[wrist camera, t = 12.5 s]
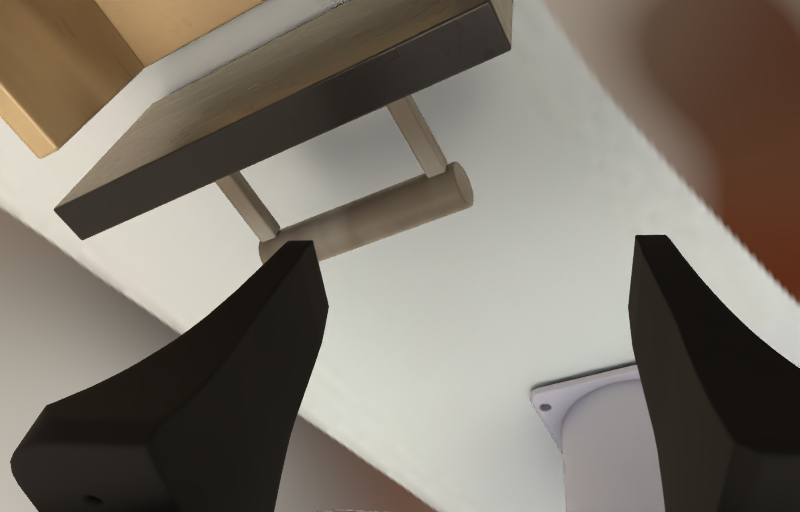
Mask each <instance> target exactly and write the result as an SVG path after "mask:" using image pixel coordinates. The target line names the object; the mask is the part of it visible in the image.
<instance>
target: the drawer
mask: <svg viewBox="0 0 800 512" xmlns="http://www.w3.org/2000/svg"><path fill="white" fill-rule="evenodd" d="M264 1H266V0H0V116H1V118H2V119H3V120H4V121H5V122H6V123H7V124H8V125H9V126H10V127H11V129H12V130H13V131H14V132H15V133H16V134H17V135H18V136H19V137H20V139H21V140H22V141H23V142H24V143H25V144H26V145H27V146H28V147H29V148H30V150H31V151H32V152H33V153H34V154H35V155H36V156H37V157H38V158H39V159H41V158H44V157H46V156H48V155H50V154H52V153H53V152H55V151H57V150H59V149H60V148H61V147H62V146H63V145H64V144H65V143H66V142H67V141H68V140H69V139H70V138H71V137H73V136H74V135H75V134H76V133H77V132H78V131H79V130H80V129H81V128H82V127H83V126H84V125H85V124H86V123H87V122H88V121H89V120H90V119H92V118H93V117H94V116H95V115H96V114H97V113H98V112H99V111H100V110H101V109H102V108H103V107H104V106H105V105H106V104H107V103H108V102H109V101H111V100H112V99H113V98H114V97H115V96H116V95H117V94H118V93H119V92H120V91H121V90H122V89H123V88H124V87H125V86H126V85H127V84H128V83H129V82H131V81H132V80H133V79H134V78H135V77H136V76H137V75H138V74H139V73H140V72H141V71H142V70H143V69H144V68H146V67H147V66H149V65H151V64H153V63H155V62H156V61H158V60H160V59H162V58H164V57H165V56H167V55H169V54H171V53H173V52H174V51H176V50H178V49H180V48H182V47H183V46H185V45H187V44H189V43H191V42H192V41H194V40H196V39H198V38H200V37H201V36H203V35H205V34H207V33H209V32H210V31H212V30H214V29H216V28H218V27H219V26H221V25H223V24H225V23H227V22H228V21H230V20H232V19H234V18H236V17H237V16H239V15H241V14H243V13H245V12H246V11H248V10H250V9H252V8H254V7H255V6H257V5H259V4H261V3H263V2H264ZM512 8H513V0H350V1H348V2H346V3H344V4H342V5H340V6H338V7H336V8H334V9H332V10H330V11H329V12H327V13H325V14H323V15H321V16H319V17H317V18H315V19H313V20H311V21H309V22H308V23H306V24H304V25H302V26H300V27H298V28H296V29H294V30H292V31H290V32H289V33H287V34H285V35H283V36H281V37H279V38H277V39H275V40H273V41H271V42H269V43H268V44H266V45H264V46H262V47H260V48H258V49H256V50H254V51H252V52H250V53H248V54H247V55H245V56H243V57H241V58H239V59H237V60H235V61H233V62H231V63H229V64H228V65H226V66H224V67H222V68H220V69H218V70H216V71H214V72H212V73H210V74H208V75H207V76H205V77H203V78H201V79H199V80H197V81H195V82H193V83H191V84H189V85H187V86H186V87H184V88H182V89H180V90H178V91H176V92H174V93H172V94H170V95H168V96H166V97H165V98H163V99H161V100H159V101H157V102H155V103H153V104H152V105H151V106H150V107H149V108H148V109H147V110H146V111H145V112H144V113H143V114H142V116H141V117H140V118H139V119H138V120H137V121H136V122H135V123H134V124H133V125H132V126H131V127H130V128H129V129H128V130H127V132H126V133H125V134H124V135H123V136H122V137H121V138H120V139H119V140H118V141H117V142H116V143H115V144H114V145H113V146H112V148H111V149H110V150H109V151H108V152H107V153H106V154H105V155H104V156H103V157H102V158H101V159H100V160H99V161H98V162H97V163H96V165H95V166H94V167H93V168H92V169H91V170H90V171H89V172H88V173H87V174H86V175H85V176H84V177H83V178H82V179H81V181H80V182H79V183H78V184H77V185H76V186H75V187H74V188H73V189H72V190H71V191H70V192H69V193H68V194H67V195H66V196H65V198H64V199H63V200H62V201H61V202H60V203H59V204H58V205H57V206H56V207H55V208H54V211H55V212H56V214H57V215H58V216H59V217H60V218H61V219H62V220H63V221H64V222H65V223H66V224H67V225H68V226H69V227H70V228H71V230H72V231H73V232H74V233H75V234H76V235H77V236H78V237H79V238H80V239H81V240H84V239H87V238H89V237H91V236H93V235H96V234H98V233H100V232H102V231H105V230H107V229H109V228H112V227H114V226H116V225H118V224H121V223H123V222H125V221H127V220H130V219H132V218H134V217H136V216H139V215H141V214H143V213H145V212H148V211H150V210H152V209H154V208H157V207H159V206H161V205H163V204H166V203H168V202H170V201H172V200H175V199H177V198H179V197H181V196H184V195H186V194H188V193H190V192H193V191H195V190H197V189H199V188H202V187H204V186H206V185H208V184H211V183H213V182H216V183H217V185H218V186H219V187H220V189H221V190H222V191H223V193H224V194H225V195H226V197H227V198H228V199H229V200H230V202H231V203H232V204H233V206H234V207H235V208H236V210H237V211H238V212H239V213H240V215H241V216H242V217H243V219H244V220H245V221H246V223H247V224H248V225H249V227H250V228H251V229H252V230H253V232H254V233H255V234H256V236H257V237H258V238H259V240H260V242H259V255H260V258H261V261H262V263H263V264H264V263H265V262H266V261H267V260H268V259H269V258H270V257H271V256H272V255H273V254H274V253H275V252H277V251H278V250H279V249H280V248H281V247H282V246H283V245H284V244H285V243H286V242H287V241H292V240H313V242H314V247H315V251H316V255H317V259H318V262H319V261H322V260H325V259H327V258H330V257H333V256H336V255H339V254H341V253H344V252H347V251H350V250H353V249H355V248H358V247H361V246H364V245H366V244H369V243H372V242H375V241H378V240H380V239H383V238H386V237H389V236H392V235H394V234H397V233H400V232H403V231H405V230H408V229H411V228H414V227H417V226H419V225H422V224H425V223H428V222H431V221H433V220H436V219H439V218H442V217H444V216H447V215H450V214H453V213H456V212H458V211H461V210H464V209H467V208H470V207H471V206H472V205H473V201H474V200H473V191H472V187H471V184H470V181H469V179H468V176H467V174H466V172H465V171H464V169H463V167H462V166H461V165H460V164H459V163H458V162H452V163H450V164H447V160H446V158H445V156H444V154H443V153H442V151H441V149H440V147H439V145H438V144H437V142H436V140H435V138H434V136H433V134H432V133H431V131H430V129H429V127H428V125H427V123H426V122H425V120H424V118H423V116H422V114H421V112H420V111H419V109H418V107H417V105H416V103H415V102H414V100H413V98H412V96H411V94H413V93H415V92H418V91H420V90H422V89H424V88H427V87H429V86H431V85H433V84H436V83H438V82H440V81H442V80H445V79H447V78H449V77H451V76H454V75H456V74H458V73H460V72H463V71H465V70H467V69H470V68H472V67H474V66H476V65H479V64H481V63H483V62H485V61H488V60H490V59H492V58H494V57H497V56H499V55H501V54H503V53H506V52H508V51H510V50H511V38H512ZM384 106H387V107H388V109H389V111H390V113H391V114H392V116H393V118H394V120H395V121H396V123H397V125H398V127H399V128H400V130H401V132H402V134H403V135H404V137H405V139H406V141H407V142H408V144H409V146H410V148H411V149H412V151H413V153H414V155H415V156H416V158H417V160H418V162H419V163H420V165H421V167H422V169H423V170H424V172H425V173H424V174H422V175H419V176H416V177H414V178H411V179H409V180H406V181H404V182H401V183H399V184H396V185H393V186H391V187H388V188H386V189H383V190H381V191H378V192H375V193H373V194H370V195H368V196H365V197H363V198H360V199H358V200H355V201H352V202H350V203H347V204H345V205H342V206H340V207H337V208H335V209H332V210H329V211H327V212H324V213H322V214H319V215H317V216H314V217H311V218H309V219H306V220H304V221H301V222H299V223H296V224H294V225H291V226H288V227H286V228H283V229H281V230H280V226H279V224H278V223H277V222H276V220H275V219H274V218H273V216H272V215H271V213H270V212H269V211H268V209H267V208H266V207H265V205H264V204H263V203H262V201H261V200H260V199H259V197H258V196H257V194H256V193H255V192H254V190H253V189H252V188H251V186H250V185H249V184H248V182H247V181H246V180H245V178H244V177H243V176H242V174H241V173H240V170H242V169H244V168H247V167H249V166H251V165H253V164H256V163H258V162H260V161H262V160H265V159H267V158H269V157H271V156H274V155H276V154H278V153H280V152H283V151H285V150H287V149H289V148H292V147H294V146H296V145H298V144H301V143H303V142H305V141H307V140H310V139H312V138H314V137H316V136H319V135H321V134H323V133H325V132H328V131H330V130H332V129H334V128H337V127H339V126H341V125H343V124H346V123H348V122H350V121H352V120H355V119H357V118H359V117H361V116H364V115H366V114H368V113H370V112H373V111H375V110H377V109H379V108H382V107H384Z"/></svg>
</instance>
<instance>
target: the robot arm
mask: <svg viewBox="0 0 800 512" xmlns="http://www.w3.org/2000/svg"><path fill="white" fill-rule="evenodd" d="M328 308H329V305H328V301H327V296H326V292H325V288H324V284H323V280H322V276H321V271H320V267H319V263H318V259H317V255H316V251H315V247H314V242H313V240H292V241H287V242H286V243H285V244H284V245H283V246H282V247H281V248H280V249H279V250H278V251H277V252H275V253H274V254H273V255H272V256H271V257H270V258H269V259H268V260H267V261H266V262H265V263H264V264H263V265H262V266H261V267H260V268H259V269H258V270H257V271H256V272H255V273H254V274H253V275H252V276H251V277H250V278H249V279H248V280H247V281H246V282H245V283H244V284H243V285H242V286H241V287H239V288H238V289H237V290H236V291H235V292H234V293H233V294H232V295H231V296H229V297H228V298H227V299H226V300H225V301H224V302H223V303H221V304H220V305H219V306H218V307H217V308H216V309H214V310H213V311H212V312H211V313H210V314H209V315H208V316H206V317H205V318H204V319H203V320H201V321H200V322H199V323H197V324H196V325H195V326H193V327H192V328H191V329H189V330H188V331H187V332H185V333H184V334H182V335H181V336H180V337H178V338H177V339H175V340H174V341H172V342H171V343H169V344H168V345H166V346H165V347H163V348H161V349H160V350H159V351H157V352H155V353H153V354H152V355H150V356H148V357H147V358H145V359H143V360H142V361H140V362H139V363H137V364H135V365H133V366H131V367H130V368H128V369H126V370H124V371H122V372H120V373H118V374H116V375H114V376H112V377H110V378H109V379H106V380H105V381H102V382H100V383H98V384H96V385H94V386H92V387H90V388H87V389H85V390H83V391H80V392H78V393H76V394H73V395H71V396H68V397H66V398H64V399H61V400H59V401H57V402H54V403H51V404H49V405H47V406H46V407H45V408H44V410H43V411H42V412H41V414H40V415H39V417H38V418H37V420H36V421H35V423H34V424H33V425H32V427H31V428H30V430H29V431H28V433H27V434H26V436H25V437H24V438H23V440H22V441H21V443H20V444H19V446H18V447H17V449H16V450H15V451H14V453H13V456H12V458H11V461H10V463H11V470H12V473H13V476H14V477H15V479H16V481H17V483H18V485H19V486H20V487H21V489H22V490H23V491H24V493H25V494H26V495H27V497H28V498H29V499H30V501H31V502H32V503H33V505H34V506H35V507H36V509H37V510H38V511H39V512H274V509H275V504H276V499H277V494H278V489H279V484H280V479H281V474H282V470H283V465H284V461H285V456H286V452H287V447H288V444H289V439H290V435H291V432H292V429H293V425H294V422H295V419H296V416H297V413H298V410H299V408H300V405H301V402H302V399H303V396H304V393H305V390H306V388H307V385H308V382H309V379H310V376H311V373H312V371H313V368H314V365H315V362H316V359H317V356H318V353H319V350H320V347H321V344H322V339H323V335H324V330H325V325H326V319H327V314H328ZM628 310H629V320H630V329H631V338H632V346H633V351H634V355H635V359H636V363H637V364H636V365H632V366H628V367H624V368H620V369H615V370H611V371H607V372H603V373H599V374H594V375H590V376H586V377H582V378H578V379H573V380H569V381H565V382H561V383H557V384H552V385H548V386H544V387H540V388H536V389H534V390H533V391H532V392H531V394H530V400H531V403H532V404H533V406H534V408H535V409H536V411H537V413H538V414H539V416H540V418H541V419H542V421H543V423H544V424H545V426H546V428H547V429H548V431H549V433H550V434H551V436H552V438H553V439H554V441H555V443H556V444H557V446H558V448H559V449H560V451H561V453H562V454H563V463H564V481H565V500H566V512H800V368H798V367H797V366H796V365H794V364H793V363H791V362H790V361H788V360H787V359H786V358H784V357H783V356H782V355H780V354H779V353H778V352H776V351H775V350H774V349H773V348H771V347H770V346H769V345H768V344H766V343H765V342H764V341H763V340H762V339H760V338H759V337H758V336H757V335H756V334H754V333H753V332H752V331H751V330H750V329H749V328H748V327H747V326H746V325H745V324H743V323H742V322H741V321H740V320H739V319H738V318H737V317H736V316H735V315H734V314H733V313H732V312H731V311H730V310H729V309H728V308H727V307H726V306H725V305H724V304H723V303H722V301H721V300H720V299H719V298H718V297H717V296H716V295H715V294H714V293H713V292H712V290H711V289H710V288H709V287H708V286H707V285H706V284H705V283H704V282H703V280H702V279H701V278H700V277H699V276H698V274H697V273H696V272H695V271H694V270H693V268H692V267H691V266H690V265H689V263H688V262H687V261H686V260H685V258H684V257H683V256H682V254H681V253H680V252H679V250H678V249H677V248H676V246H675V245H674V244H673V242H672V241H671V240H670V239H669V238H668V237H667V236H666V235H636V236H635V246H634V256H633V265H632V275H631V285H630V294H629V304H628ZM544 404H547V405H544ZM317 512H379V511H364V510H346V509H335V510H325V511H317ZM380 512H381V511H380Z"/></svg>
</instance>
